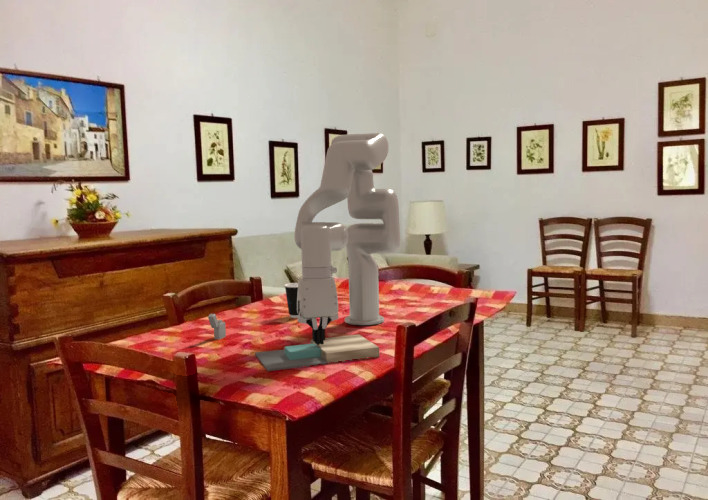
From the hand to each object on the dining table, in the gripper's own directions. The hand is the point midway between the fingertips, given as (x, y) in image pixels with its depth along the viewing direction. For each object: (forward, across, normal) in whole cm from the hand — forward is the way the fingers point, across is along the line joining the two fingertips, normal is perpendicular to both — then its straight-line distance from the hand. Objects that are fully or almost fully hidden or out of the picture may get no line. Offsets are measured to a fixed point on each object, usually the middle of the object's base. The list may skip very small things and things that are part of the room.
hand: (318, 343), depth 159 cm
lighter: (+4, +22, -30) cm, 37 cm away
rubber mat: (+3, +8, 0) cm, 8 cm away
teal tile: (+3, +4, 0) cm, 5 cm away
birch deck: (+3, -7, 0) cm, 8 cm away
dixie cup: (+3, -7, -50) cm, 50 cm away
